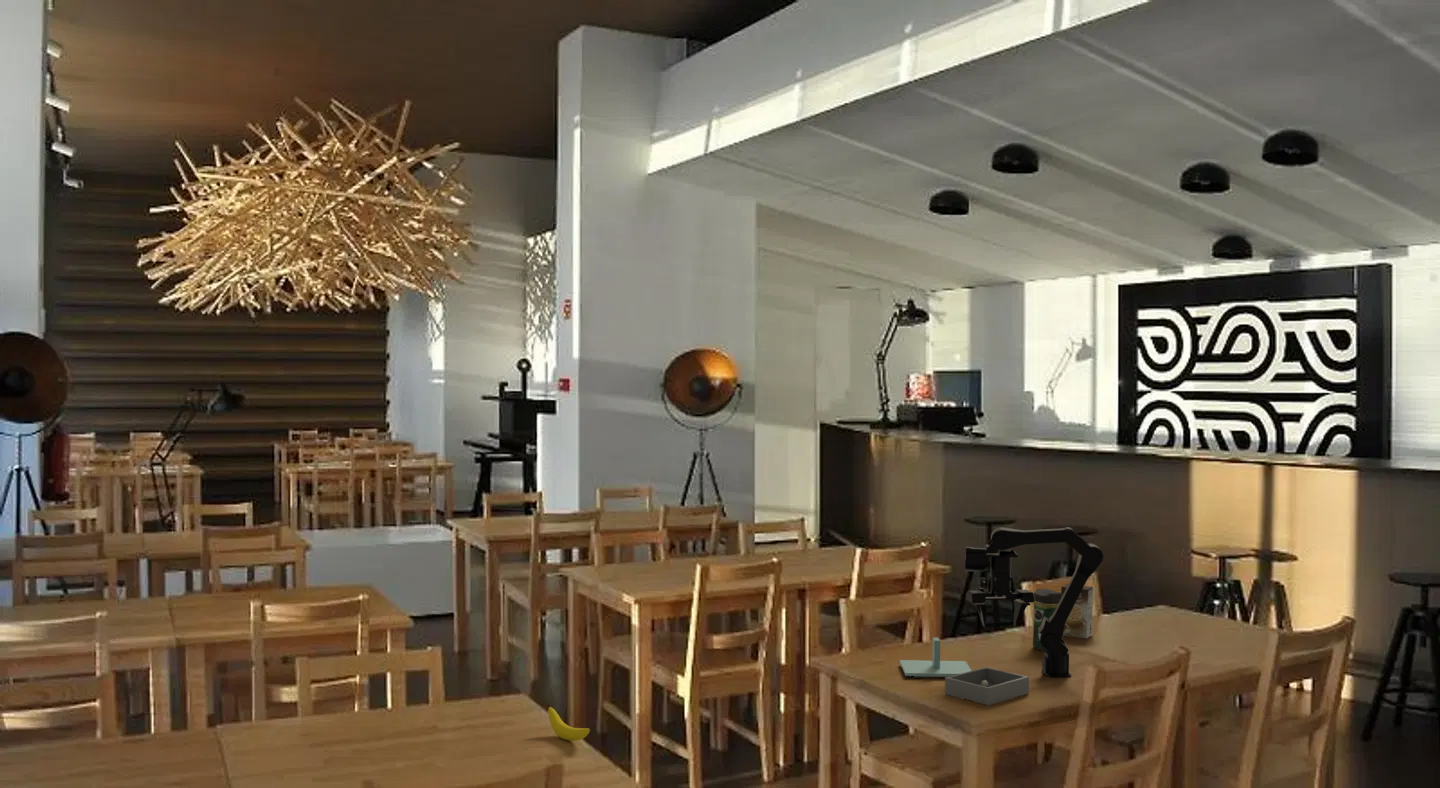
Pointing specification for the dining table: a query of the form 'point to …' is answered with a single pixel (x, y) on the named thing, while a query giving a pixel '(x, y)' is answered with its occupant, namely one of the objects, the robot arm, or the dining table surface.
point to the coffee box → (1080, 614)
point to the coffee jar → (1043, 611)
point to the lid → (934, 665)
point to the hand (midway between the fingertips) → (999, 626)
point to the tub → (987, 685)
